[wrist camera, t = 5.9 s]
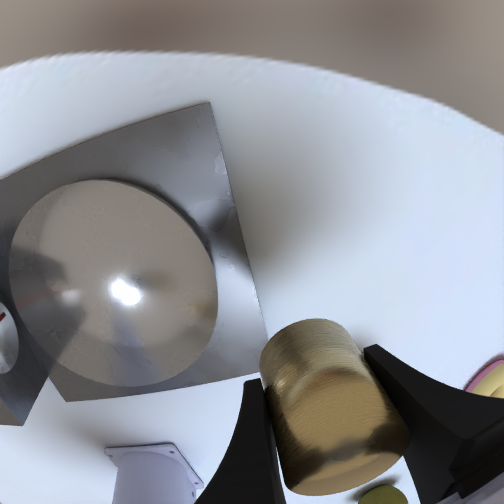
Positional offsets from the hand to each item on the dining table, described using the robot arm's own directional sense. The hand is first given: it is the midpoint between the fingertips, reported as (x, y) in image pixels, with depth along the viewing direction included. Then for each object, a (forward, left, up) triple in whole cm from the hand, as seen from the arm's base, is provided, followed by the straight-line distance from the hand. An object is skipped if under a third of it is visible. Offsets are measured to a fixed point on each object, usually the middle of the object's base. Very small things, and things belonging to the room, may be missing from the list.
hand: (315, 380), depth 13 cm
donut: (-23, -24, -10) cm, 34 cm away
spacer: (0, 0, -2) cm, 2 cm away
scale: (+3, +12, -9) cm, 15 cm away
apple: (-40, -9, -10) cm, 42 cm away
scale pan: (+3, +10, -8) cm, 13 cm away
